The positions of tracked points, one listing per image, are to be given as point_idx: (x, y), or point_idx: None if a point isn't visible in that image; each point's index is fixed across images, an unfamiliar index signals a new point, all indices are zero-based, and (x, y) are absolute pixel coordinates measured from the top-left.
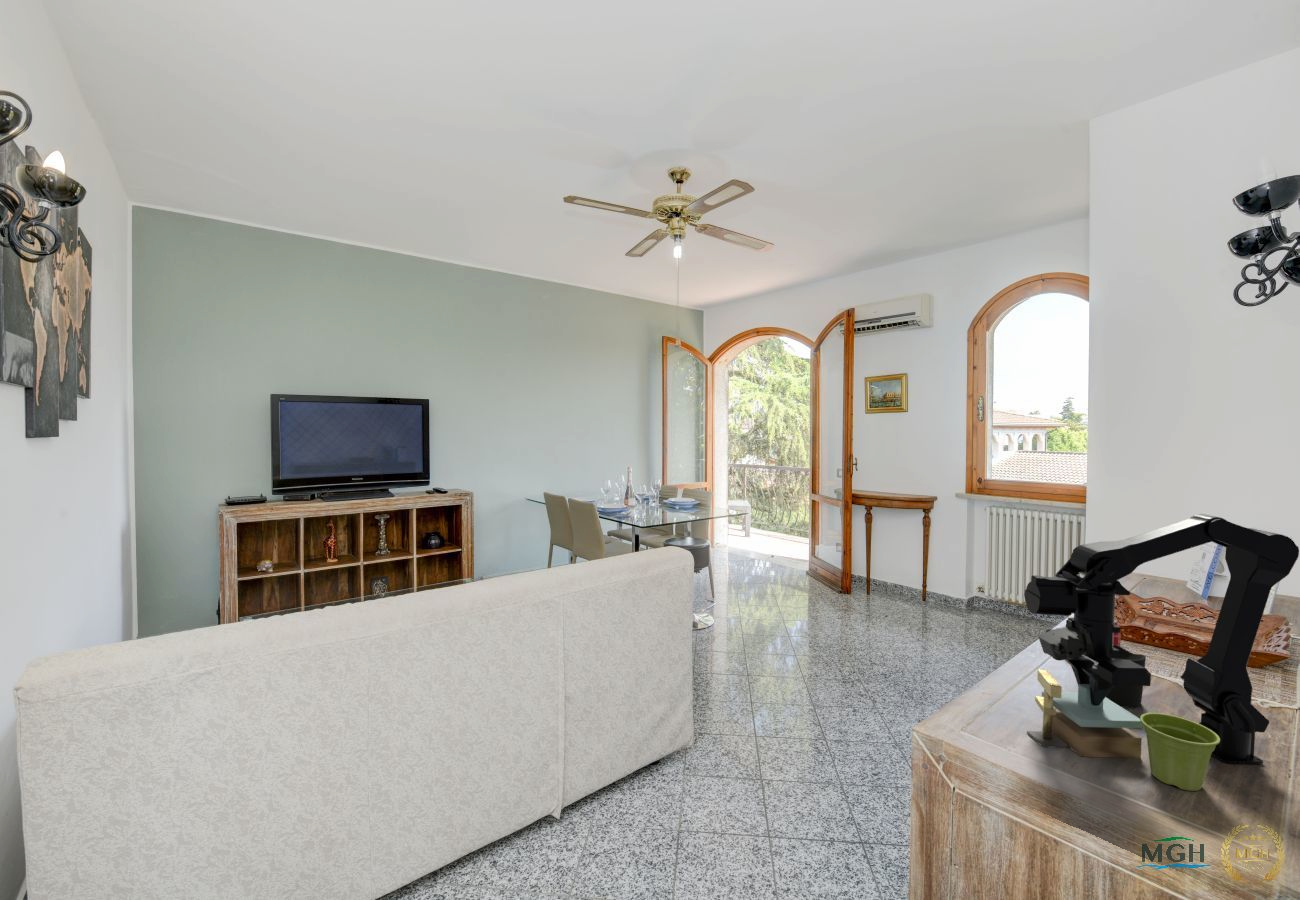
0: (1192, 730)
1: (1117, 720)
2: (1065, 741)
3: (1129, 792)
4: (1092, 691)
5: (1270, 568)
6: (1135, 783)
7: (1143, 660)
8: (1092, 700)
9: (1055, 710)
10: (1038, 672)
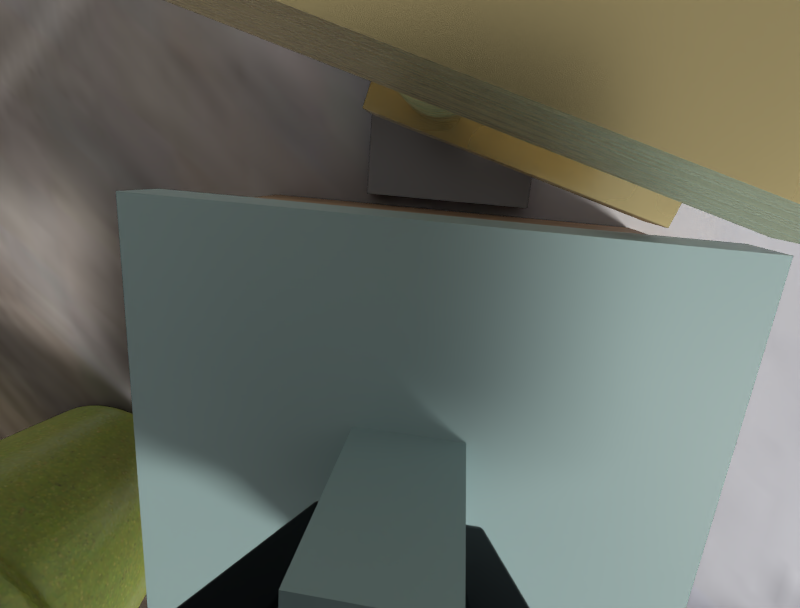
0: None
1: (142, 504)
2: (403, 207)
3: None
4: (206, 606)
5: None
6: (67, 282)
7: None
8: (297, 526)
9: (368, 105)
10: None
